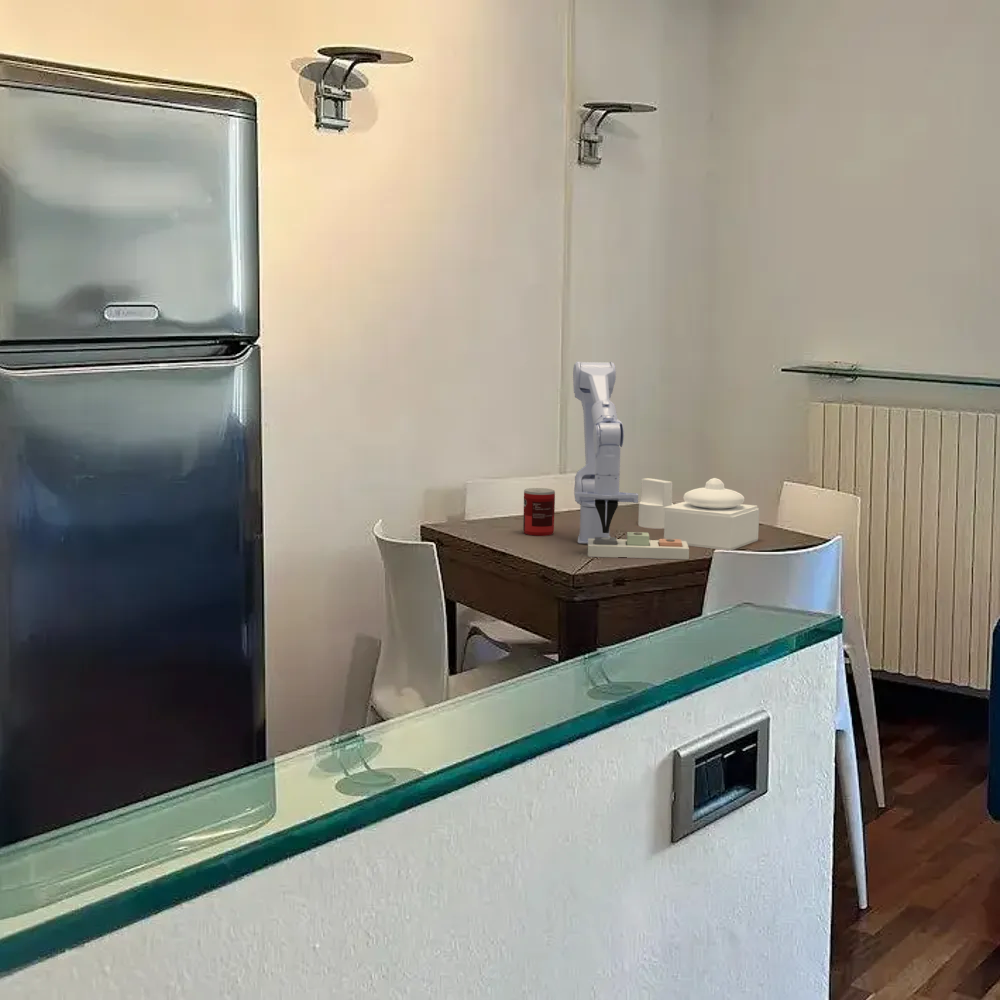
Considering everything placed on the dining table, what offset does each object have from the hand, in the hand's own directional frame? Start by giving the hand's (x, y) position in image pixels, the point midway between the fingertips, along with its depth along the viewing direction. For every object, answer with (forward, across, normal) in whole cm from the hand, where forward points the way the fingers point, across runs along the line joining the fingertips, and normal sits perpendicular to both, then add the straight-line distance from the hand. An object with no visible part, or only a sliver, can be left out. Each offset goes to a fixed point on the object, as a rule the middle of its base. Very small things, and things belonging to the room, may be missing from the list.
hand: (605, 532), depth 318 cm
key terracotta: (+5, +15, 0) cm, 16 cm away
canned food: (+5, -16, +25) cm, 30 cm away
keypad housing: (+5, +8, 0) cm, 9 cm away
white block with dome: (+5, +26, +20) cm, 33 cm away
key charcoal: (+5, 0, 0) cm, 5 cm away
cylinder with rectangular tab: (+5, +14, +42) cm, 44 cm away
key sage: (+3, +7, 0) cm, 8 cm away
